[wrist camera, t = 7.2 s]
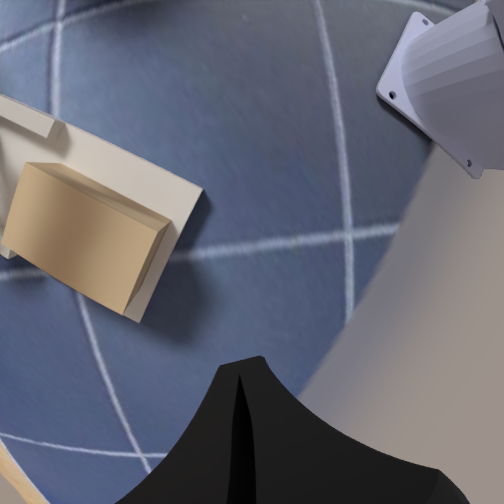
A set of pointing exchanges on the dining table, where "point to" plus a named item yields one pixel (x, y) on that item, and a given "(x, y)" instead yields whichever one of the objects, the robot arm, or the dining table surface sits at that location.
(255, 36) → the dining table surface
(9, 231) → the tan tapered block
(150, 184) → the keyhole base
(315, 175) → the dining table surface
